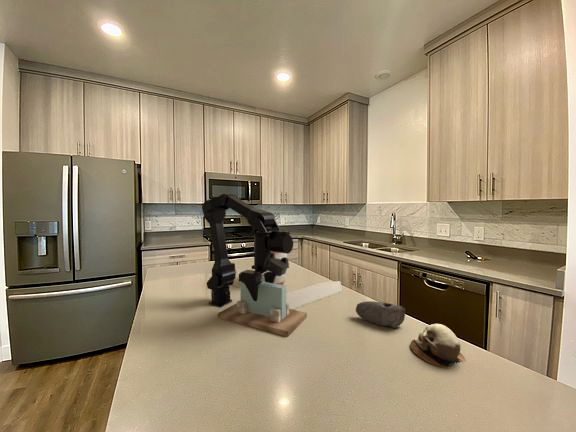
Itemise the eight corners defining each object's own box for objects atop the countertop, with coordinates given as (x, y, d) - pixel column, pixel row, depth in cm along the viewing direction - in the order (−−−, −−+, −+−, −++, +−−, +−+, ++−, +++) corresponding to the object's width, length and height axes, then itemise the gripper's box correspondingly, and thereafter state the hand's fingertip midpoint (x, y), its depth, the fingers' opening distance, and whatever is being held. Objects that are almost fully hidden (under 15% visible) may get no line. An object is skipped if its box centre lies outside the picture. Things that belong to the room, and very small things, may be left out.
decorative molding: (266, 313, 92) (283, 314, 85) (264, 299, 93) (280, 300, 85) (325, 292, 114) (342, 292, 107) (323, 282, 115) (340, 281, 108)
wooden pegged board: (218, 317, 81) (218, 302, 81) (243, 302, 94) (243, 290, 94) (288, 336, 70) (288, 319, 69) (306, 317, 82) (307, 302, 82)
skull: (396, 342, 66) (416, 310, 68) (418, 362, 68) (436, 330, 71) (437, 368, 54) (459, 329, 57) (462, 391, 57) (482, 352, 59)
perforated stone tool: (352, 319, 81) (353, 299, 80) (358, 314, 85) (358, 294, 85) (402, 333, 72) (402, 310, 72) (405, 326, 76) (406, 304, 76)
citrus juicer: (266, 277, 128) (266, 239, 127) (293, 283, 118) (294, 242, 117) (244, 285, 115) (244, 242, 115) (273, 292, 105) (273, 246, 104)
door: (240, 309, 84) (240, 281, 83) (245, 306, 87) (245, 278, 86) (281, 320, 77) (281, 288, 76) (286, 316, 79) (286, 285, 79)
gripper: (269, 257, 69) (268, 312, 70) (296, 247, 86) (296, 292, 86) (237, 253, 74) (237, 304, 75) (269, 245, 91) (269, 287, 91)
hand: (262, 296), depth 81 cm, fingers open, 8 cm apart
